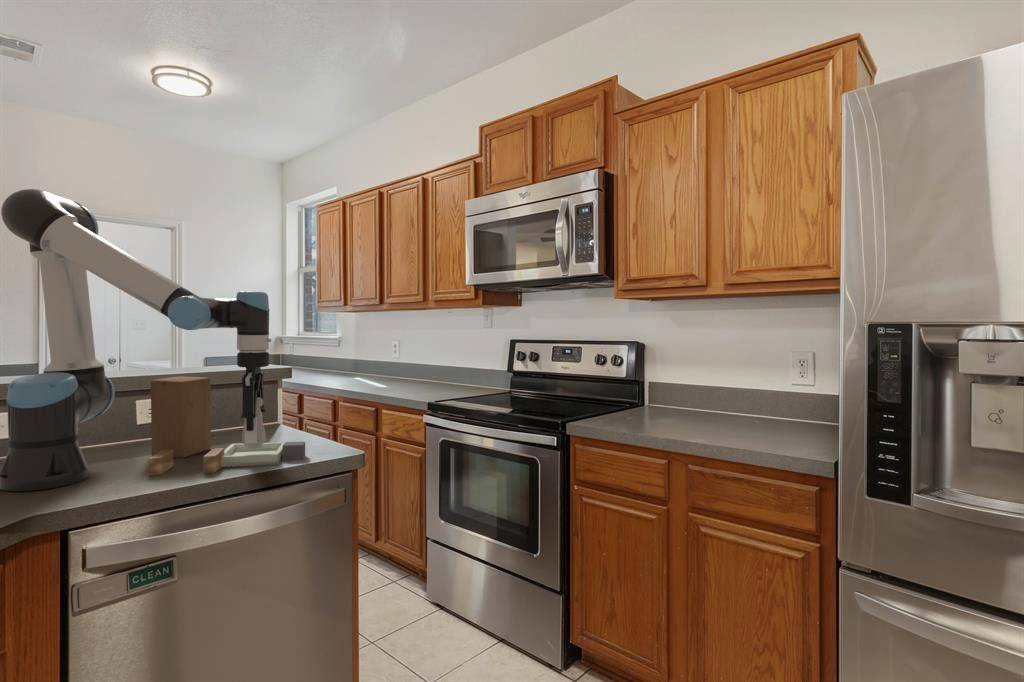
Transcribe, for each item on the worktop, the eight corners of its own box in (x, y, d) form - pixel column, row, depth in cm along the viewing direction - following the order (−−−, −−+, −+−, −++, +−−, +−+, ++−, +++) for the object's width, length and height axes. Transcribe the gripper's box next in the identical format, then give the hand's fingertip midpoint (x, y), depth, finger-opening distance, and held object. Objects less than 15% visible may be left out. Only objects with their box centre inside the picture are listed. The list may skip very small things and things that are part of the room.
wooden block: (183, 458, 143) (182, 381, 142) (150, 455, 145) (149, 379, 144) (211, 449, 153) (211, 377, 152) (180, 446, 155) (179, 375, 154)
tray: (216, 467, 136) (216, 457, 135) (231, 453, 149) (231, 443, 149) (277, 464, 139) (277, 454, 139) (286, 451, 152) (286, 442, 152)
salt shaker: (267, 443, 147) (267, 395, 147) (265, 448, 142) (264, 398, 141) (243, 445, 146) (243, 396, 145) (239, 450, 140) (239, 399, 140)
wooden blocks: (148, 475, 128) (148, 458, 127) (162, 466, 135) (161, 450, 135) (215, 472, 131) (215, 455, 131) (224, 463, 139) (224, 447, 139)
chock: (282, 460, 143) (282, 445, 143) (285, 456, 147) (285, 442, 147) (303, 460, 144) (303, 444, 144) (305, 456, 148) (305, 441, 148)
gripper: (261, 353, 134) (261, 448, 136) (275, 349, 153) (275, 432, 154) (227, 353, 133) (228, 449, 134) (246, 348, 151) (246, 433, 152)
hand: (253, 439), depth 144 cm, fingers closed on salt shaker, 6 cm apart
